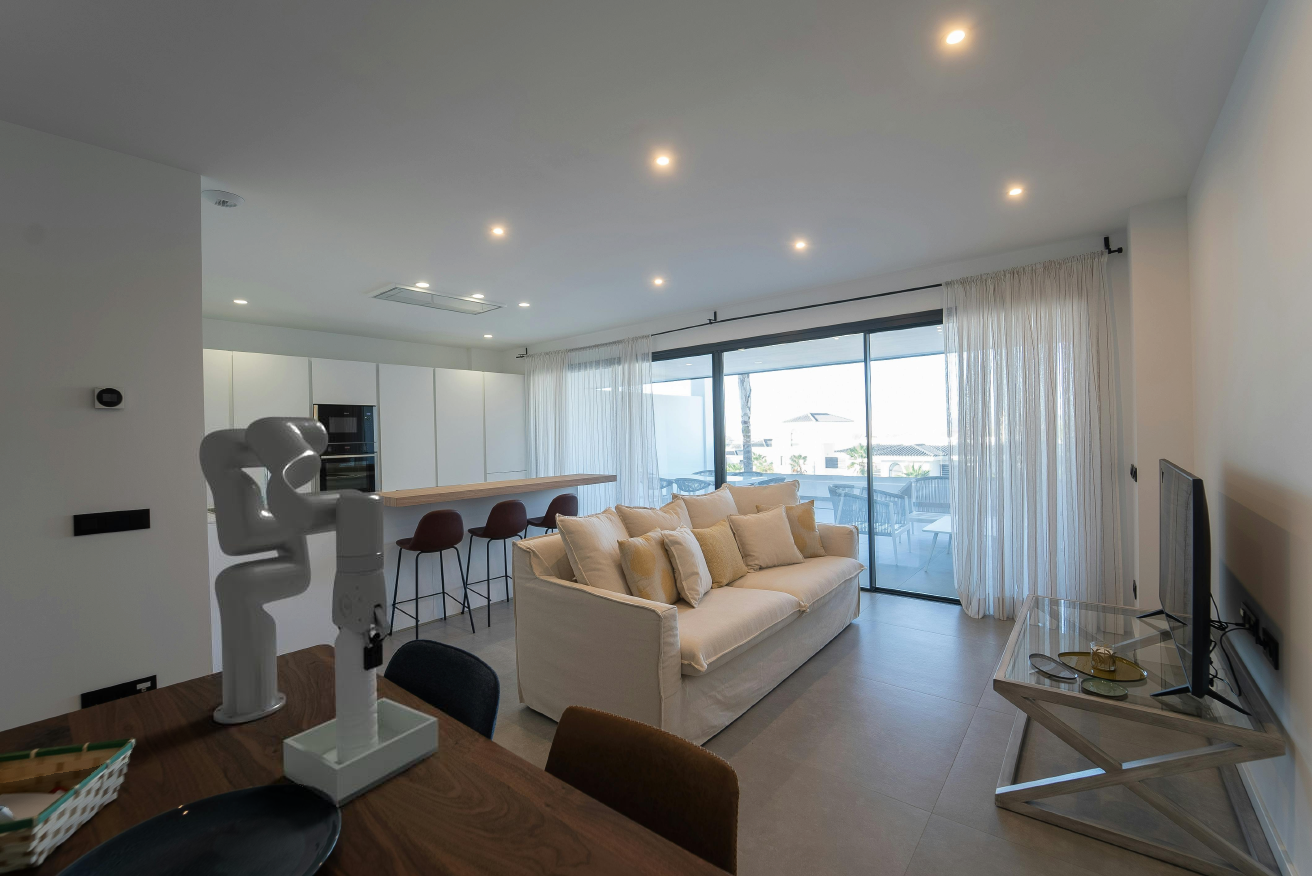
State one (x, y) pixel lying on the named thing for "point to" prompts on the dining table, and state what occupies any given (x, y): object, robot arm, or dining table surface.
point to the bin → (398, 748)
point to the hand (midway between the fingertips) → (361, 662)
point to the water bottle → (354, 697)
